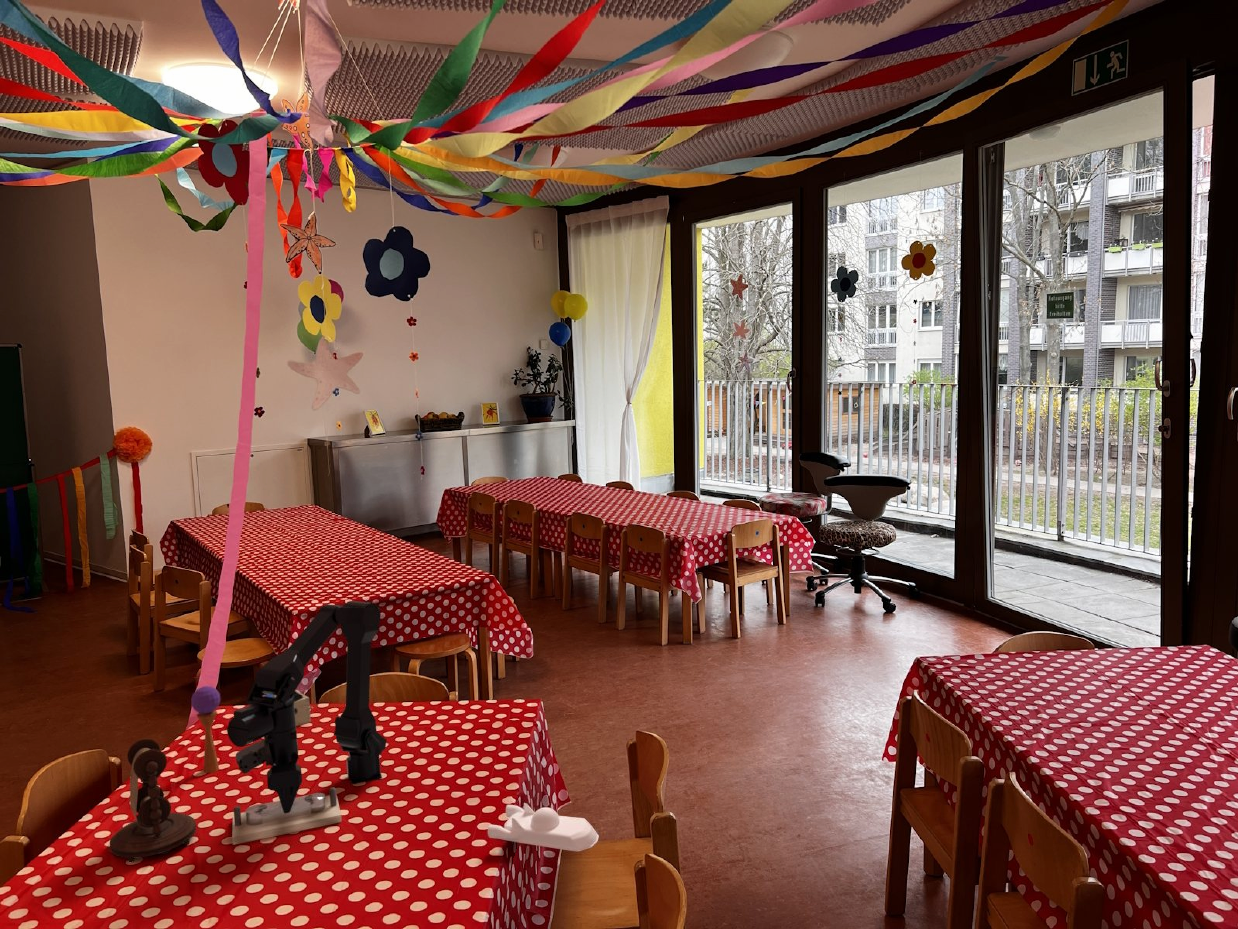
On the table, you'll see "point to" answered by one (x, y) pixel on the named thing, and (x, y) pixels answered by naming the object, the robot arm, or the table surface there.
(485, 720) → the table surface
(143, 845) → the dark brown upright piece
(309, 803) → the grey baby rattle
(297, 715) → the pounding toy
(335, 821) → the peg rack
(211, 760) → the kendama
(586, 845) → the plane toy
